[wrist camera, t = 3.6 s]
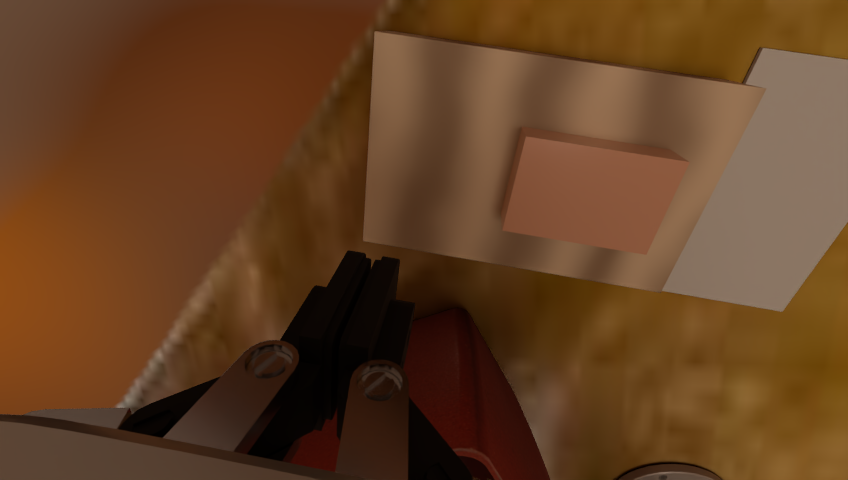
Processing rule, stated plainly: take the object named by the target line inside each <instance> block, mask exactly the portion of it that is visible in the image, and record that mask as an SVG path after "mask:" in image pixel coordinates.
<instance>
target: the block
mask: <svg viewBox="0 0 848 480" xmlns="http://www.w3.org/2000/svg"><path fill="white" fill-rule="evenodd" d="M689 163H690V162H689V161H687V160H686V159H684V158H683V157H681V156H680V155H678V154H677V153H675V152H674V151H672V150H670V149H663V148H657V147H650V146H644V145H637V144H631V143H625V142H618V141H612V140H605V139H599V138H592V137H586V136H579V135H573V134H567V133H560V132H554V131H547V130H541V129H534V128H528V127H522V128H521V132H520V136H519V140H518V145H517V149H516V153H515V157H514V161H513V165H512V169H511V173H510V177H509V182H508V186H507V190H506V194H505V198H504V202H503V206H502V210H501V223H502V231H508V232H514V233H520V234H526V235H531V236H537V237H543V238H549V239H555V240H561V241H567V242H573V243H579V244H585V245H591V246H596V247H602V248H608V249H614V250H620V251H626V252H632V253H638V254H644V255H647V252H648V250H649V248H650V246H651V244H652V242H653V240H654V237H655V235H656V233H657V231H658V229H659V227H660V225H661V223H662V220H663V218H664V216H665V214H666V212H667V210H668V208H669V206H670V203H671V201H672V199H673V197H674V195H675V193H676V191H677V189H678V186H679V184H680V182H681V180H682V178H683V176H684V174H685V171H686V169H687V167H688V165H689Z"/></svg>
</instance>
